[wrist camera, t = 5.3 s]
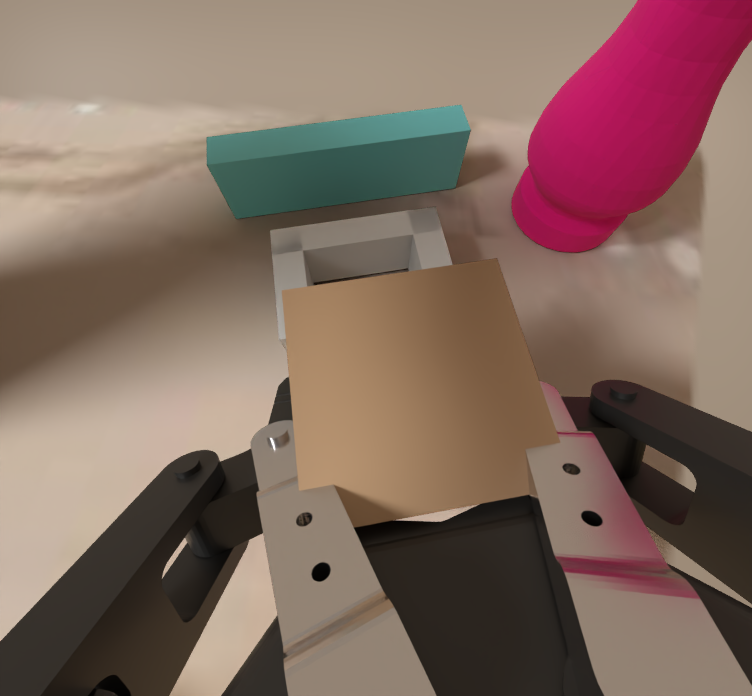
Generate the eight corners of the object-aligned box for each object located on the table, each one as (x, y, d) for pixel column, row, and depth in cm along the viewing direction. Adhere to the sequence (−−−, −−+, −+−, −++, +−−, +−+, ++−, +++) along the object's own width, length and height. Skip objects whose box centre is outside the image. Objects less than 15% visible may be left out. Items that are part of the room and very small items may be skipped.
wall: (236, 219, 22) (206, 164, 18) (235, 194, 23) (206, 137, 19) (455, 187, 23) (470, 130, 19) (448, 164, 23) (461, 104, 20)
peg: (349, 502, 15) (303, 537, 6) (335, 398, 16) (281, 290, 7) (453, 483, 15) (575, 485, 6) (430, 382, 17) (497, 258, 7)
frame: (294, 361, 18) (279, 339, 16) (284, 264, 20) (269, 230, 18) (452, 335, 19) (465, 309, 16) (427, 243, 21) (435, 206, 18)
